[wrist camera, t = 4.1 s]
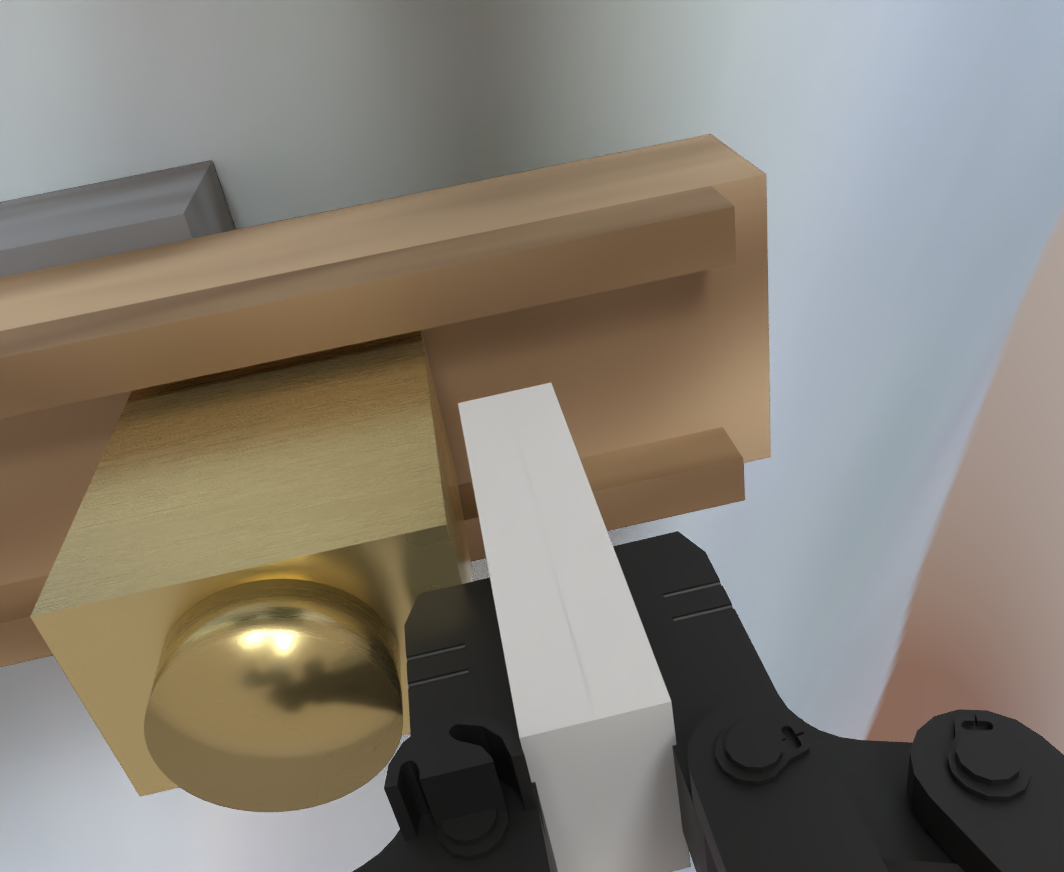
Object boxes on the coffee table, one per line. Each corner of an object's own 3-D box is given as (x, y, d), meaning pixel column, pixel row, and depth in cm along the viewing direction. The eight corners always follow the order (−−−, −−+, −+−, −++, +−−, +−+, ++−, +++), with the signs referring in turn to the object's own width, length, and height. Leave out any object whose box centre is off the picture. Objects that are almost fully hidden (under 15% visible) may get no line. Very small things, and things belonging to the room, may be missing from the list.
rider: (135, 381, 16) (2, 679, 10) (419, 322, 16) (453, 577, 10) (203, 533, 18) (123, 862, 12) (457, 477, 18) (504, 771, 12)
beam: (-487, 298, 20) (-1097, 598, 12) (655, 73, 22) (844, 196, 13) (-288, 542, 24) (-642, 903, 15) (675, 337, 25) (832, 565, 17)
